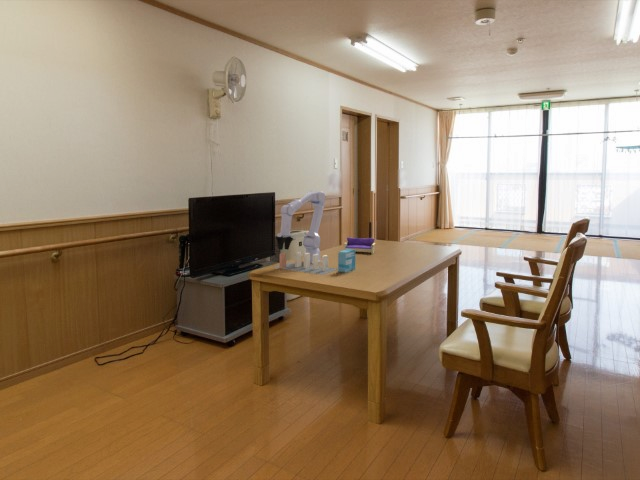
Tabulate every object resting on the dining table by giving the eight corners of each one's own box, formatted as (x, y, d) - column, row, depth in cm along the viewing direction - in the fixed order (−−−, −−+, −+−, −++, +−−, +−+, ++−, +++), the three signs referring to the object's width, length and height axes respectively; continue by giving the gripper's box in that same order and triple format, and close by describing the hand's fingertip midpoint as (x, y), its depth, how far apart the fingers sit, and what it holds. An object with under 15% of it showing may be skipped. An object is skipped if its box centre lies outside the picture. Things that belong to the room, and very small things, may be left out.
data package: (344, 273, 253) (345, 252, 251) (337, 272, 256) (338, 251, 254) (355, 269, 263) (355, 249, 261) (348, 268, 266) (348, 248, 264)
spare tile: (284, 266, 269) (283, 252, 267) (286, 267, 268) (286, 253, 266) (279, 268, 265) (279, 253, 264) (281, 268, 264) (281, 254, 263)
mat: (289, 263, 281) (289, 262, 281) (338, 269, 263) (338, 268, 263) (273, 268, 266) (273, 267, 266) (323, 275, 249) (323, 274, 249)
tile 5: (325, 269, 262) (325, 254, 261) (327, 269, 261) (327, 255, 260) (321, 270, 258) (321, 256, 257) (323, 271, 258) (323, 256, 256)
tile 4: (316, 268, 265) (316, 253, 264) (318, 268, 264) (318, 254, 263) (312, 269, 262) (312, 255, 260) (314, 269, 261) (314, 255, 259)
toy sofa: (343, 252, 317) (343, 238, 315) (346, 250, 325) (346, 236, 324) (373, 254, 311) (373, 239, 310) (375, 252, 319) (375, 237, 318)
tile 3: (307, 267, 268) (307, 252, 267) (310, 267, 267) (310, 253, 266) (303, 268, 265) (303, 254, 263) (306, 268, 264) (305, 254, 262)
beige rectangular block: (299, 265, 271) (299, 251, 270) (301, 266, 271) (301, 252, 269) (295, 267, 268) (295, 253, 266) (297, 267, 267) (297, 253, 266)
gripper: (285, 225, 272) (283, 248, 273) (273, 224, 259) (271, 248, 259) (296, 227, 269) (293, 249, 270) (284, 226, 256) (282, 250, 256)
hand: (283, 249), depth 264 cm, fingers open, 7 cm apart
